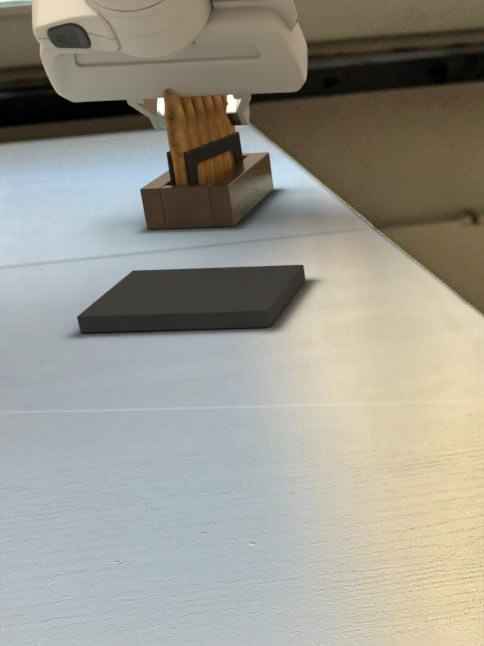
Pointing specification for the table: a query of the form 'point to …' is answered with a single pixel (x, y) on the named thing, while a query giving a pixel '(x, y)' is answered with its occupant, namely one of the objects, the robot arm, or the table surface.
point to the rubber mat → (194, 299)
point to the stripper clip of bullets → (199, 138)
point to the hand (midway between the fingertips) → (202, 120)
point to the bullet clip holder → (208, 197)
